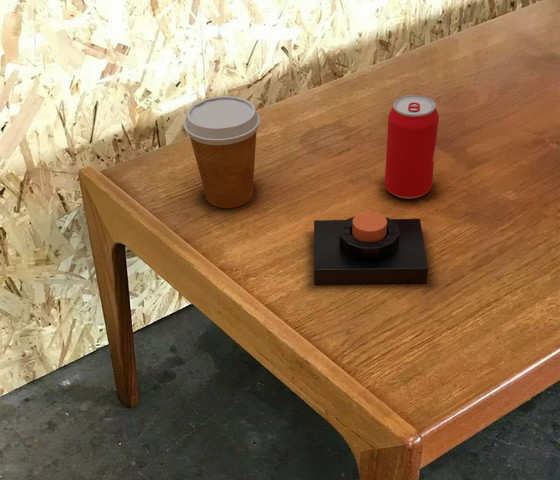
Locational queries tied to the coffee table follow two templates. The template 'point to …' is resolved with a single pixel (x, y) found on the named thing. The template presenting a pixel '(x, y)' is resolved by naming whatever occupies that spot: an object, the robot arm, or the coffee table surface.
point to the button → (369, 227)
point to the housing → (369, 254)
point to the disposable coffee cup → (224, 147)
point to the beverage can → (411, 146)
